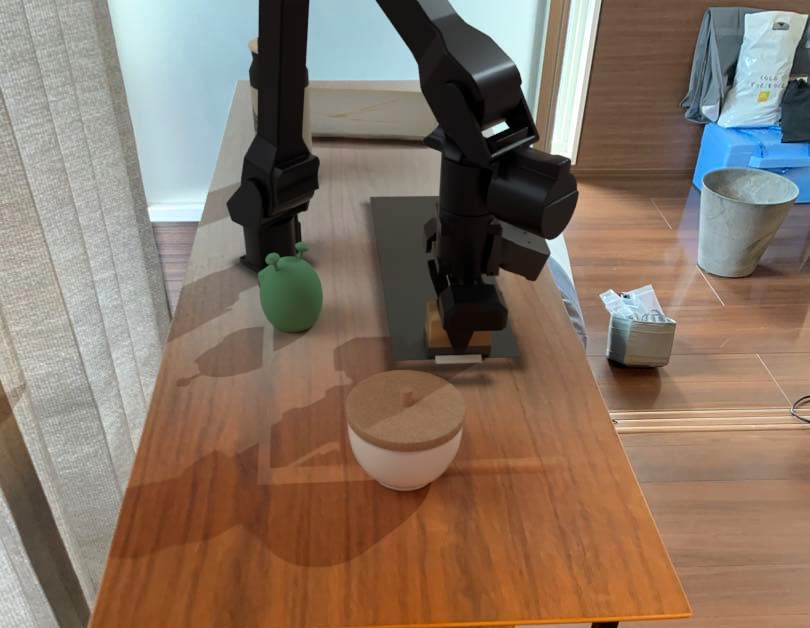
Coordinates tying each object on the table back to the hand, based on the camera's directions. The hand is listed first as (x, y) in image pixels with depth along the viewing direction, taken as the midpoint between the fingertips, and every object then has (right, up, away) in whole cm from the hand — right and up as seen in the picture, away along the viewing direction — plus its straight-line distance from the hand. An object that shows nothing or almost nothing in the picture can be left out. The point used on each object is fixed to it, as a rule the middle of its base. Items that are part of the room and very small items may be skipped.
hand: (456, 342), depth 91 cm
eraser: (0, 0, 0) cm, 0 cm away
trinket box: (-6, -15, -12) cm, 20 cm away
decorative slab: (-14, +49, +48) cm, 70 cm away
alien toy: (-19, +3, +4) cm, 19 cm away
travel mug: (-23, +31, +31) cm, 50 cm away
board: (-2, +12, +13) cm, 18 cm away
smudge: (0, -3, -1) cm, 3 cm away
